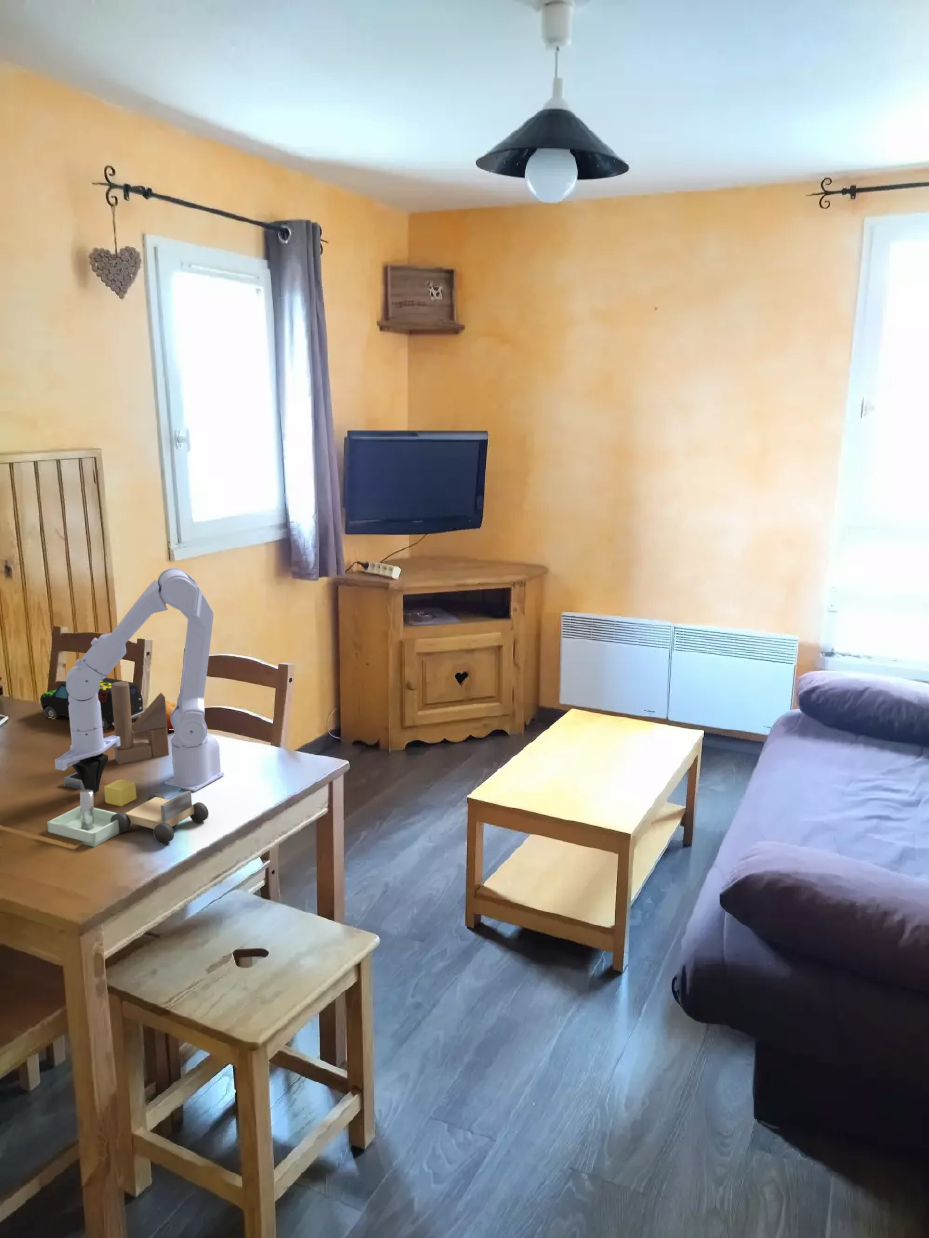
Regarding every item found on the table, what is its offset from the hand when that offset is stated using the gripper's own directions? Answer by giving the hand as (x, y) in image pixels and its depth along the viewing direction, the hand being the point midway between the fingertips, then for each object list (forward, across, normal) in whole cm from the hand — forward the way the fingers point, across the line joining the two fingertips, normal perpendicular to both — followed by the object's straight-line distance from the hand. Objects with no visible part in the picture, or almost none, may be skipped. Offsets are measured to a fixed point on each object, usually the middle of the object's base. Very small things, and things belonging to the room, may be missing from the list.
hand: (92, 791), depth 176 cm
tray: (+1, +12, +11) cm, 16 cm away
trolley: (+1, +5, +21) cm, 22 cm away
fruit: (+1, -36, -13) cm, 38 cm away
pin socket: (+1, -3, -6) cm, 7 cm away
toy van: (+1, -35, -36) cm, 50 cm away
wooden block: (+1, -19, -5) cm, 20 cm away
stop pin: (0, +12, +11) cm, 16 cm away
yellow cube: (+1, 0, +7) cm, 7 cm away
